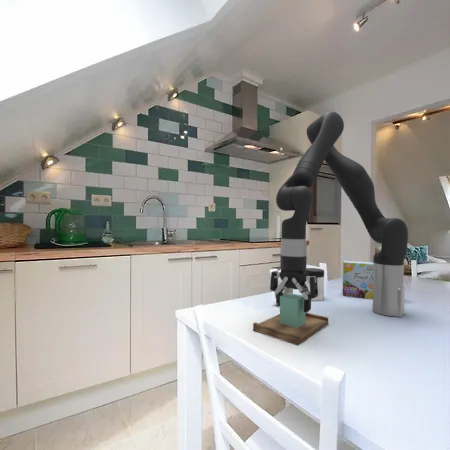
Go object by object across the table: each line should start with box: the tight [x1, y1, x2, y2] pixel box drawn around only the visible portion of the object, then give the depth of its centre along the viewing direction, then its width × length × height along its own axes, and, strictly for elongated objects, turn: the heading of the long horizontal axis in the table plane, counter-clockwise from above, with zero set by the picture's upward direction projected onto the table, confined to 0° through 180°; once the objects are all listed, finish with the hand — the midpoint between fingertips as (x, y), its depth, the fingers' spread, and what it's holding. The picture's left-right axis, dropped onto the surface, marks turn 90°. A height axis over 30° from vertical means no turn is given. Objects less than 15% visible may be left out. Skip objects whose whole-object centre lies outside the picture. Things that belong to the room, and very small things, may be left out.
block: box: [279, 293, 305, 328], centre depth 80 cm, size 6×6×8 cm
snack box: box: [341, 260, 373, 300], centre depth 116 cm, size 21×6×15 cm, turn 68°
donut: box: [274, 278, 294, 298], centre depth 105 cm, size 10×4×10 cm, turn 134°
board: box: [252, 312, 329, 346], centre depth 80 cm, size 14×20×2 cm
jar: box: [305, 267, 325, 302], centre depth 113 cm, size 9×8×12 cm
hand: (292, 308), depth 80 cm, fingers open, 8 cm apart
